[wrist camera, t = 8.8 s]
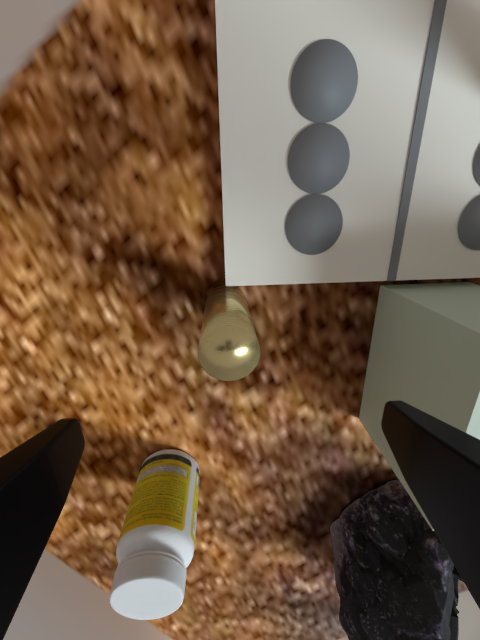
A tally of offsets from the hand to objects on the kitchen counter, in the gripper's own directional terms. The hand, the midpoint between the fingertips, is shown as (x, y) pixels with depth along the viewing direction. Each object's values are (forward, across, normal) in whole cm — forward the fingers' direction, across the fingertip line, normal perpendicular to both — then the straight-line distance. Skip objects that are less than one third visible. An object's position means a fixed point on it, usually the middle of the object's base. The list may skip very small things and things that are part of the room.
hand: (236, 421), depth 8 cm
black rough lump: (+11, -15, +23) cm, 30 cm away
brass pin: (+11, 0, 0) cm, 11 cm away
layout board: (+11, -10, -8) cm, 17 cm away
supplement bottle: (+11, +5, +14) cm, 19 cm away
